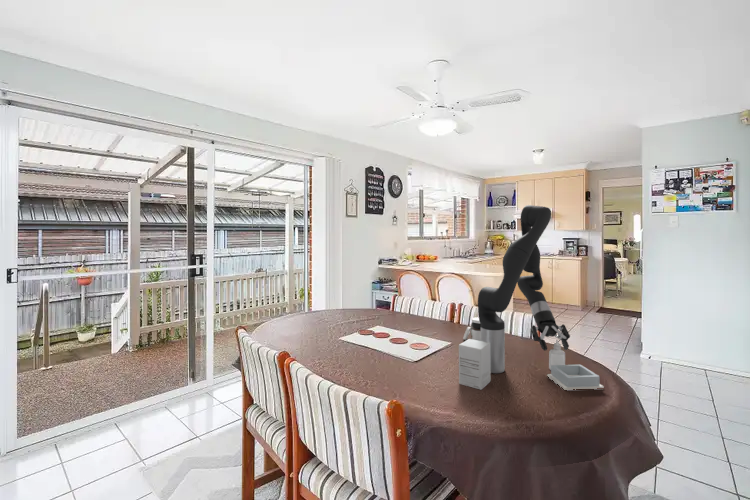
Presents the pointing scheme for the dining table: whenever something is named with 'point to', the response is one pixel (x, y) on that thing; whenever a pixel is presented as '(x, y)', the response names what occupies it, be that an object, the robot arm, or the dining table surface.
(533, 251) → the robot arm
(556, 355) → the eye dropper bottle
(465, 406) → the dining table surface
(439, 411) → the dining table surface
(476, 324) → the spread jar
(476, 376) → the supplement box
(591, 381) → the bottle stand
